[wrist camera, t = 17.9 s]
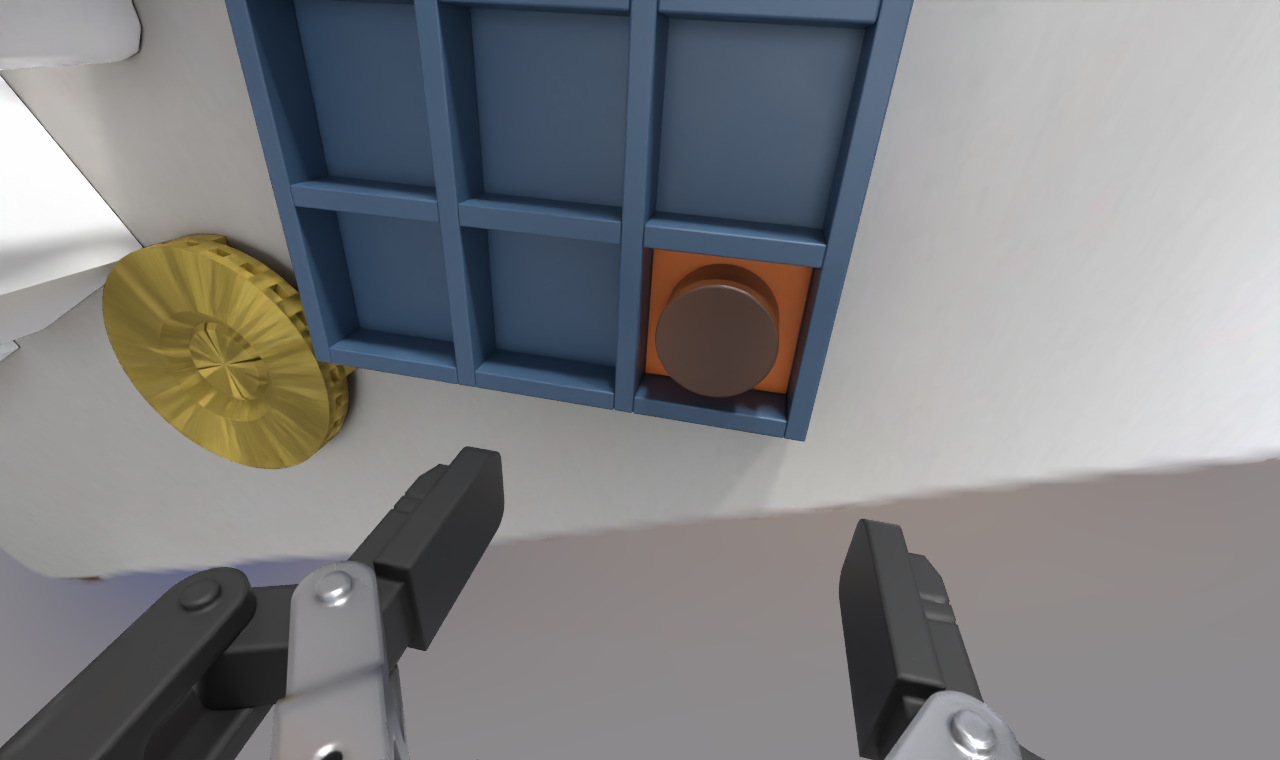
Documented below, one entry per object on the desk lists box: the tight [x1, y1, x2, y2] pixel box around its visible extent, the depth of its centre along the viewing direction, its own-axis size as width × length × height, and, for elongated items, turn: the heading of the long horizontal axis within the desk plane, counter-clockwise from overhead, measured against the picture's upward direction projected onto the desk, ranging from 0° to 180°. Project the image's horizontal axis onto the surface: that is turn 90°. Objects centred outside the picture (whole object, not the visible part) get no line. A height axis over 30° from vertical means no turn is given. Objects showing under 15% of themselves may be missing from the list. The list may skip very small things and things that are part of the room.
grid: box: [225, 0, 914, 441], centre depth 21 cm, size 21×14×3 cm
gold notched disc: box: [102, 234, 356, 469], centre depth 28 cm, size 12×12×2 cm
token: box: [655, 264, 779, 397], centre depth 21 cm, size 4×4×2 cm
